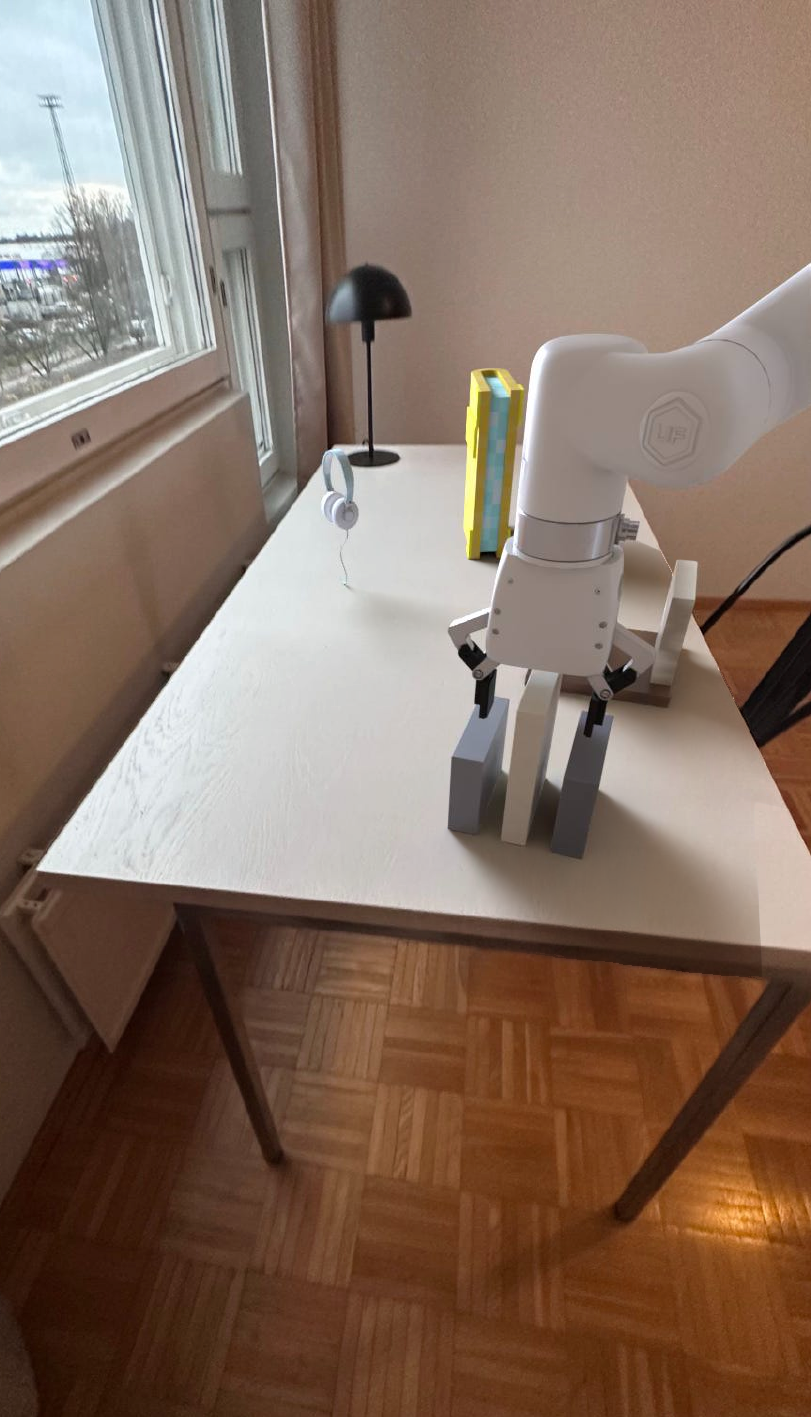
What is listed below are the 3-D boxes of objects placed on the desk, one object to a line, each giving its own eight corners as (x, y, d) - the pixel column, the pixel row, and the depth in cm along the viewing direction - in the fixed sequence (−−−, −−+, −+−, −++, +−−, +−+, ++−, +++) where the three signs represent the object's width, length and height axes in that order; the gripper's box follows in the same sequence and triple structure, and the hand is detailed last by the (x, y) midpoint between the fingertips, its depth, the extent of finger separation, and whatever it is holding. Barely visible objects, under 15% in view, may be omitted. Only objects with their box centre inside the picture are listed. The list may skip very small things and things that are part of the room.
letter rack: (674, 644, 95) (699, 553, 87) (667, 707, 84) (695, 610, 76) (546, 628, 100) (559, 540, 92) (524, 685, 89) (536, 591, 81)
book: (508, 557, 119) (524, 389, 103) (468, 559, 120) (477, 391, 103) (495, 521, 132) (508, 367, 116) (459, 523, 132) (467, 369, 116)
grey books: (596, 787, 74) (613, 715, 68) (582, 859, 66) (599, 785, 60) (474, 763, 77) (480, 693, 72) (447, 828, 70) (451, 756, 64)
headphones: (366, 590, 112) (361, 454, 99) (344, 596, 111) (336, 459, 98) (343, 572, 118) (336, 441, 105) (322, 577, 116) (311, 446, 103)
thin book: (545, 777, 75) (566, 651, 65) (525, 846, 68) (545, 715, 58) (523, 773, 76) (540, 647, 66) (500, 840, 68) (516, 710, 58)
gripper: (689, 524, 53) (639, 714, 65) (465, 504, 59) (455, 684, 70) (685, 562, 48) (631, 762, 60) (440, 537, 53) (433, 725, 65)
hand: (536, 719), depth 65 cm, fingers open, 9 cm apart
